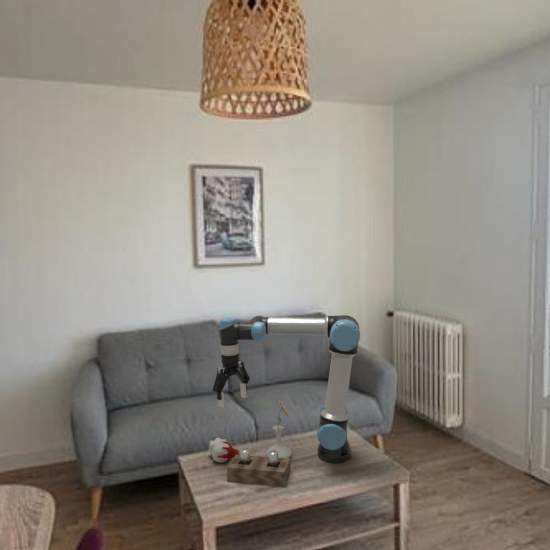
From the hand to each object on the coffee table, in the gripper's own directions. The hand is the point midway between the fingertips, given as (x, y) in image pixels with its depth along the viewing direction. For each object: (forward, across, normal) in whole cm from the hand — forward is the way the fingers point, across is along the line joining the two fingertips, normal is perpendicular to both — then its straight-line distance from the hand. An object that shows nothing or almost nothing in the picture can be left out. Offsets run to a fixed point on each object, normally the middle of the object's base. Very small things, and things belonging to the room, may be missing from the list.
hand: (232, 402), depth 216 cm
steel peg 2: (+23, -1, +21) cm, 31 cm away
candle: (+28, 0, -8) cm, 29 cm away
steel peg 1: (+23, +5, +10) cm, 25 cm away
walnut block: (+28, +2, +15) cm, 32 cm away
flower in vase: (+29, -18, +10) cm, 35 cm away
